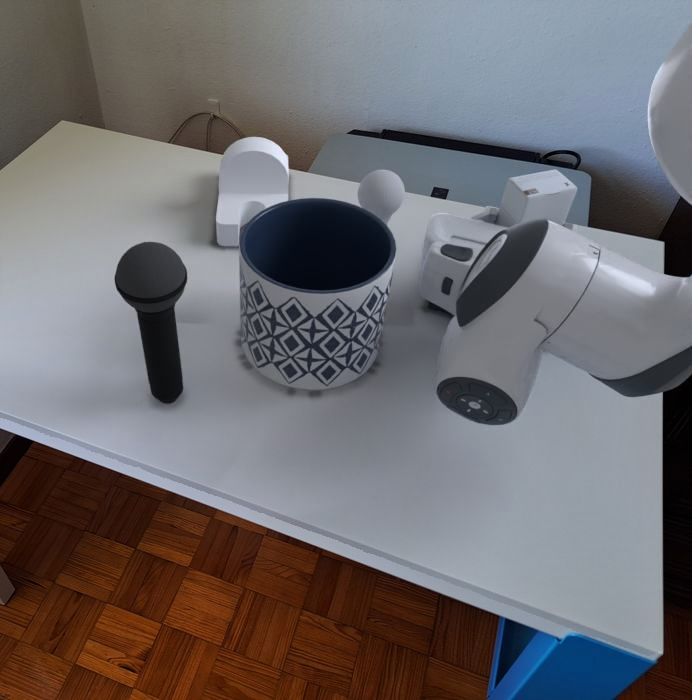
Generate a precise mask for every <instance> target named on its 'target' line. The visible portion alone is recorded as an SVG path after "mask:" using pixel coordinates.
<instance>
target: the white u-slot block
mask: <svg viewBox="0 0 692 700" xmlns="http://www.w3.org/2000/svg"><path fill="white" fill-rule="evenodd" d="M289 166H290V165H289V155H288V154H286V152H285V151H284V150H283V149H282V147H280V145H279V144H277V143H275V142H274V141H272V140H271V139H268V138H265V137H259V136H249V137H248V136H247V137H244V138H241V139H238V140H236V141H234V142H233V143H232V144H230V145H229V146H228V147H227V149H225V151H224V152H223V154H222V156H221V159H220V165H219V174H218V198H217V207H216V214H215V227H216V228H215V229H216V230H215V231H216V243H217V244H218V245H219V246H222V247H239V241H240V235H241V234H240V233H241V228H242V227H243V226H246V224H247V223H248V222H249V221H250V220H251V219H252V218H253V217H254V216H255V215H256V214H258V213H259V212H261V211H262V210H264V209H266V208H268V207H270V206H273V205H275V204H278V203H281V202H285V201H289V188H290V187H289V186H290V168H289Z"/></svg>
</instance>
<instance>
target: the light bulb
mask: <svg viewBox="0 0 692 700" xmlns="http://www.w3.org/2000/svg"><path fill="white" fill-rule="evenodd" d="M405 195H406V190H405V185H404V182H403V180H402V178H401V177H400V176H399V175H398V174H397V173H395V172H393V171H391V170H388V169H376V170H373V171H371V172H369V173H368V174H366V175H365V176H364V177H363V179H362V180H361V182H360V183H359V185H358V188H357V201H358V204H359V205H360V206H359V207H361V208H364V209H366V210H368V211H369V212H371V213H373V214H375V215H376V216H377V217H378V218H380V219H381V220H382V221H383V222H384V223H385V224H386V225H387V226H388V223H389V222H390V220H391V218H392V216H393V215H394V214H395V213H396V212H397V211H398V210H399V209H400V207H402V204H403V203H404V199H405Z"/></svg>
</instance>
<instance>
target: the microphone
mask: <svg viewBox="0 0 692 700" xmlns="http://www.w3.org/2000/svg"><path fill="white" fill-rule="evenodd" d="M187 282H188V270H187V267H186V265H185V264H184V262H183V260H182V258H181V257H180V256H179V254H178V253H177V252H176V250H174V249H173V248H171V247H170V246H168V245H166V244H164V243H162V242H158V241H157V242H156V241H143V242H140V243H136V244H135V245H133V246H131V247H129V248H128V249H127V250H126V251H125V252H124V253H123V254H122V255H121V257H120V259H119V261H118V263H117V265H116V270H115V274H114V285H115V289H116V291H117V292H118V294H119V295H120V296H121V298H122V299H123V301H124V302H125V303H126V304H128V305H129V306H130V307H131V308H133V309H134V310H135V312H136V316H137V321H138V329H139V333H140V338H141V345H142V350H143V357H144V362H145V363H144V364H145V368H146V369H145V370H146V374H147V380H148V385H149V390H150V392H151V395H152V397H154V399H156V400H157V401H158V402H160V403H162V404H165V405H170V404H173V403H175V402H176V401H177V400H178V399H179V398H180V396H181V395H182V393H183V391H184V382H183V379H184V377H183V369H182V360H181V352H180V342H179V336H178V335H179V334H178V325H177V318H176V308H175V307H176V304H177V302H178V301H179V300H180V298H181V297H182V296H183V294H184V291H185V288H186V286H187Z"/></svg>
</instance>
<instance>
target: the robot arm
mask: <svg viewBox="0 0 692 700" xmlns="http://www.w3.org/2000/svg"><path fill="white" fill-rule="evenodd" d="M648 97H649V98H648V105H647V127H648V134H649V139H650V143H651V147H652V151H653V153H654V156H655V159H656V161H657V163H658V165H659V168H660V169H661V171H662V174H663V175H664V176H665V178H666V180H667V181H668V182H669V184H670V185H671V187H673V189H674V191H676V192H677V194H678V195H680V197H682V198H683V199H684V201H686V202H687V203H688V204H690V206H692V22H690V24H689V25H688V26H687V28H686V29H685V30H684V32H683V33H682V34H681V36H680V37H679V38H678V39H677V41H676V43H675V44H674V45H673V46H672V48H671V49H670V51H669V53H668V54H667V56H666V57H665V58H664V60H663V62H662V64H661V65H660V66H659V69H658V70H657V72H656V73H655V76H654V79H653V81H652V84H651V87H650V92H649V96H648ZM499 208H500V207H495V206H492V205H486V207H485V209H484V211H483V212H480V213H478V214H475V215H473V216H471V218H467V217H463V216H459V215H455V214H450V213H447V212H439V213H435V214H433V215H430V218H429V221H428V224H427V227H426V232H425V236H424V240H423V245H422V250H421V256H420V263H419V267H420V272H421V275H420V280H419V295H420V297H421V298H423V299H424V300H426V301H427V302H429V301H430V302H432V303H434V304H436V305H438V306H440V307H441V308H443V309H445V310H446V311H448V312H450V313H451V314H453V315H452V318H451V320H450V321H449V323H448V324H447V327H446V330H445V333H444V335H443V337H442V342H441V344H440V349H439V352H438V357H437V361H436V367H435V373H434V390H435V393H436V396H437V398H438V400H439V401H440V402H441V404H442V405H443V406H445V407H446V408H447V409H448V410H449V411H451V412H453V413H455V414H457V415H459V416H460V417H462V418H465V419H466V420H469V421H471V422H473V423H476V424H479V425H487V426H503V425H509V424H511V423H513V422H514V421H515V420H517V419H518V418H519V416H520V415H521V413H522V412H523V410H524V408H525V406H526V404H527V402H528V400H529V397H530V395H531V393H532V390H533V388H534V385H535V383H536V380H537V377H538V373H539V370H540V366H541V362H542V360H543V359H542V358H543V355H544V352H546V353H548V354H550V355H551V356H554V357H556V358H558V359H560V360H561V361H563V362H566V363H567V364H570V365H572V366H574V367H575V368H578V369H579V370H581V371H584V372H585V373H587V374H588V375H589V376H591V377H592V378H593V379H595V380H597V381H599V382H600V383H602V384H604V385H605V386H607V387H608V388H610V389H612V390H613V391H615V392H617V393H618V394H619V395H621V396H623V397H627V398H641V397H647V396H653V395H657V394H661V393H665V392H667V391H670V390H673V389H675V388H677V387H679V386H680V385H681V384H682V383H684V382H685V381H686V380H687V379H688V378H689V377H691V375H692V274H691V275H690V276H686V277H684V276H683V277H682V276H674V275H669V274H665V273H662V272H658V271H655V270H653V269H650V268H649V267H646V266H644V265H642V264H640V263H638V262H637V261H635V260H632V259H630V258H628V257H626V256H624V255H622V254H620V253H619V252H617V251H614V250H612V249H610V248H608V247H606V246H603V245H601V244H600V243H598V242H597V241H595V240H593V239H591V238H589V237H587V236H585V235H582V234H580V233H578V224H574V223H573V224H572V223H567V222H564V224H563V226H561V225H559V224H557V223H554V222H551V221H549V220H547V219H546V218H540V219H533V220H529V221H525V222H522V223H519V224H517V225H514V226H511V227H509V228H508V227H504V226H499V225H495V222H496V218H497V215H498V211H499Z"/></svg>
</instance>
